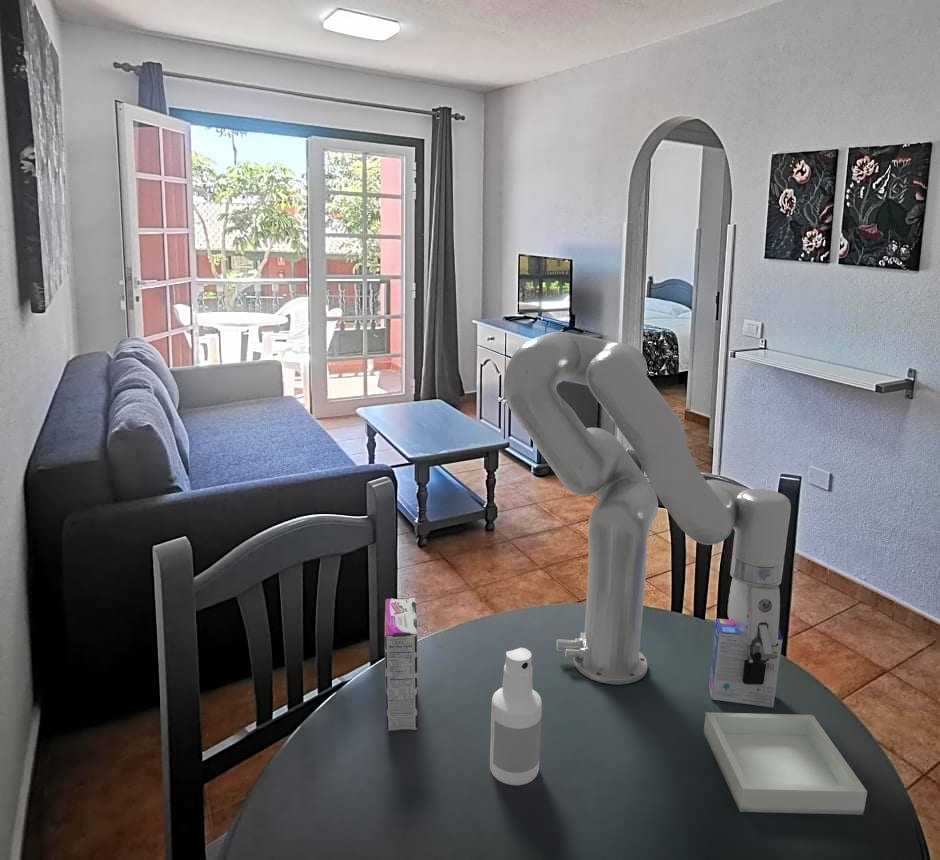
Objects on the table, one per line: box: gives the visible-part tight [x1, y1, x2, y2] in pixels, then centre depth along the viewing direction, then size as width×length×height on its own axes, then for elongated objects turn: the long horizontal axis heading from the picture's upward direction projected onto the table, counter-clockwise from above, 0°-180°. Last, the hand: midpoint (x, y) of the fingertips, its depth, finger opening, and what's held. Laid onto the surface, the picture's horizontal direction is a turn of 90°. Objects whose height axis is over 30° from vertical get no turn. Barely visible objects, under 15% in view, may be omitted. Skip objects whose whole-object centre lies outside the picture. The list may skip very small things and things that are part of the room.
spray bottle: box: [489, 647, 543, 786], centre depth 101 cm, size 7×7×18 cm
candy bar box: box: [384, 597, 419, 732], centre depth 114 cm, size 11×5×16 cm, turn 6°
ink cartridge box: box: [708, 618, 784, 708], centre depth 120 cm, size 10×6×14 cm, turn 79°
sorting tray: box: [703, 711, 868, 816], centre depth 104 cm, size 16×16×4 cm
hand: (744, 668), depth 121 cm, fingers open, 7 cm apart
